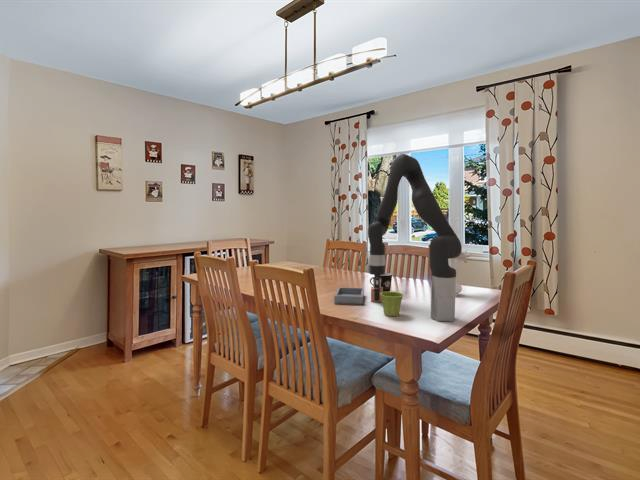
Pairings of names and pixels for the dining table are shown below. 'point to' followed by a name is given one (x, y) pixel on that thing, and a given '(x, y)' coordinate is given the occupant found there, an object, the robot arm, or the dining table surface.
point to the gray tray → (349, 296)
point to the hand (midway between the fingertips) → (376, 298)
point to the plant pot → (391, 303)
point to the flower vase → (453, 265)
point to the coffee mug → (385, 281)
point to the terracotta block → (374, 294)
